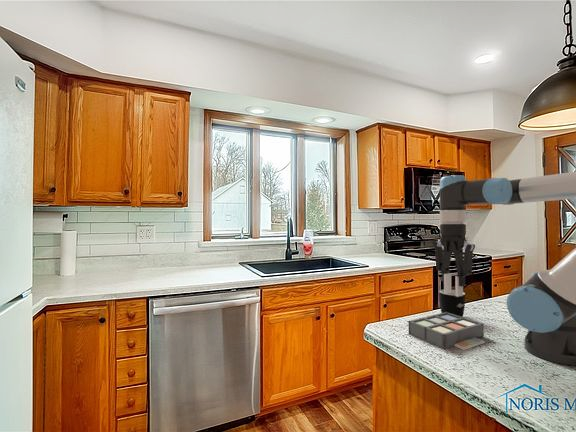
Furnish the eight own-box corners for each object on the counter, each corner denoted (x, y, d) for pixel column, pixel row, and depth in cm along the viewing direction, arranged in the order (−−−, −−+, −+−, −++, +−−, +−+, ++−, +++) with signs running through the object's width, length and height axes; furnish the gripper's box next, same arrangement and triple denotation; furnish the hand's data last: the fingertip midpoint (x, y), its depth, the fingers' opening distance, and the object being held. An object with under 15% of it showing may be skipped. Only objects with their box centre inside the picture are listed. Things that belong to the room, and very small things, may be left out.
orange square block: (464, 333, 98) (464, 327, 98) (455, 336, 96) (455, 329, 96) (451, 328, 102) (451, 323, 102) (443, 331, 100) (443, 325, 100)
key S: (452, 337, 95) (452, 330, 95) (443, 339, 93) (443, 333, 93) (440, 332, 99) (440, 326, 99) (430, 334, 97) (430, 328, 97)
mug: (458, 323, 112) (458, 296, 112) (435, 317, 119) (434, 291, 119) (473, 317, 119) (472, 291, 119) (449, 311, 126) (449, 287, 126)
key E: (436, 330, 101) (435, 324, 101) (426, 333, 99) (426, 327, 99) (424, 326, 105) (424, 320, 105) (415, 328, 103) (415, 322, 103)
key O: (476, 330, 101) (476, 324, 101) (467, 332, 99) (467, 326, 99) (463, 325, 105) (463, 320, 105) (454, 328, 103) (454, 322, 103)
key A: (458, 324, 106) (458, 318, 106) (450, 326, 104) (450, 320, 104) (447, 320, 110) (447, 314, 110) (438, 322, 108) (438, 317, 108)
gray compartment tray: (493, 340, 97) (493, 326, 97) (454, 353, 89) (453, 338, 89) (446, 323, 112) (446, 312, 112) (408, 333, 103) (408, 321, 103)
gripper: (485, 223, 93) (486, 299, 93) (438, 222, 108) (438, 287, 108) (470, 224, 90) (471, 302, 90) (423, 223, 104) (424, 290, 105)
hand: (453, 294), depth 99 cm, fingers open, 3 cm apart
